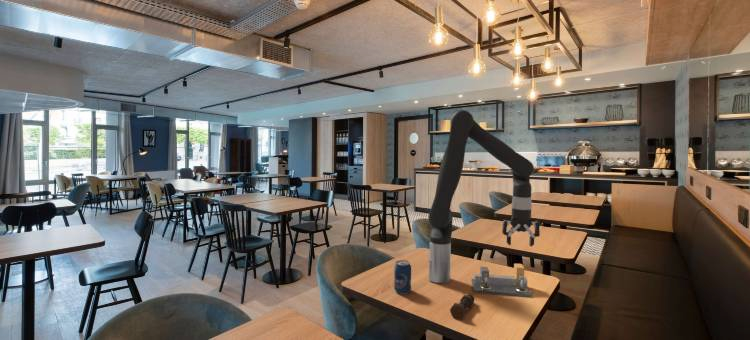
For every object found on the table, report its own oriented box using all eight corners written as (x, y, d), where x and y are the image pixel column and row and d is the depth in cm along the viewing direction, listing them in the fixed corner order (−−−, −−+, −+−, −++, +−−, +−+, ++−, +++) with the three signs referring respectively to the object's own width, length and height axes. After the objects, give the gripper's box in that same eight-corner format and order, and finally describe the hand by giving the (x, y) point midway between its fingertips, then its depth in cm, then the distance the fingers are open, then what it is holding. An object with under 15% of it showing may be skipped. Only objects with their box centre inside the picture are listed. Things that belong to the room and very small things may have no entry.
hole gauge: (474, 292, 138) (474, 275, 138) (471, 280, 150) (472, 265, 150) (531, 297, 134) (532, 280, 134) (524, 284, 146) (524, 268, 146)
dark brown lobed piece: (472, 307, 130) (459, 323, 117) (461, 298, 132) (447, 313, 119) (480, 296, 128) (467, 311, 115) (469, 287, 130) (455, 301, 118)
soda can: (391, 293, 138) (392, 264, 137) (397, 286, 144) (397, 258, 143) (408, 295, 135) (408, 266, 134) (413, 289, 142) (413, 261, 141)
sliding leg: (517, 287, 139) (518, 270, 138) (513, 279, 146) (514, 263, 146) (525, 288, 138) (526, 270, 137) (521, 280, 146) (521, 263, 145)
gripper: (505, 208, 139) (504, 247, 140) (542, 209, 136) (540, 249, 137) (501, 205, 146) (500, 241, 147) (537, 206, 143) (535, 243, 145)
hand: (520, 245), depth 142 cm, fingers open, 8 cm apart
